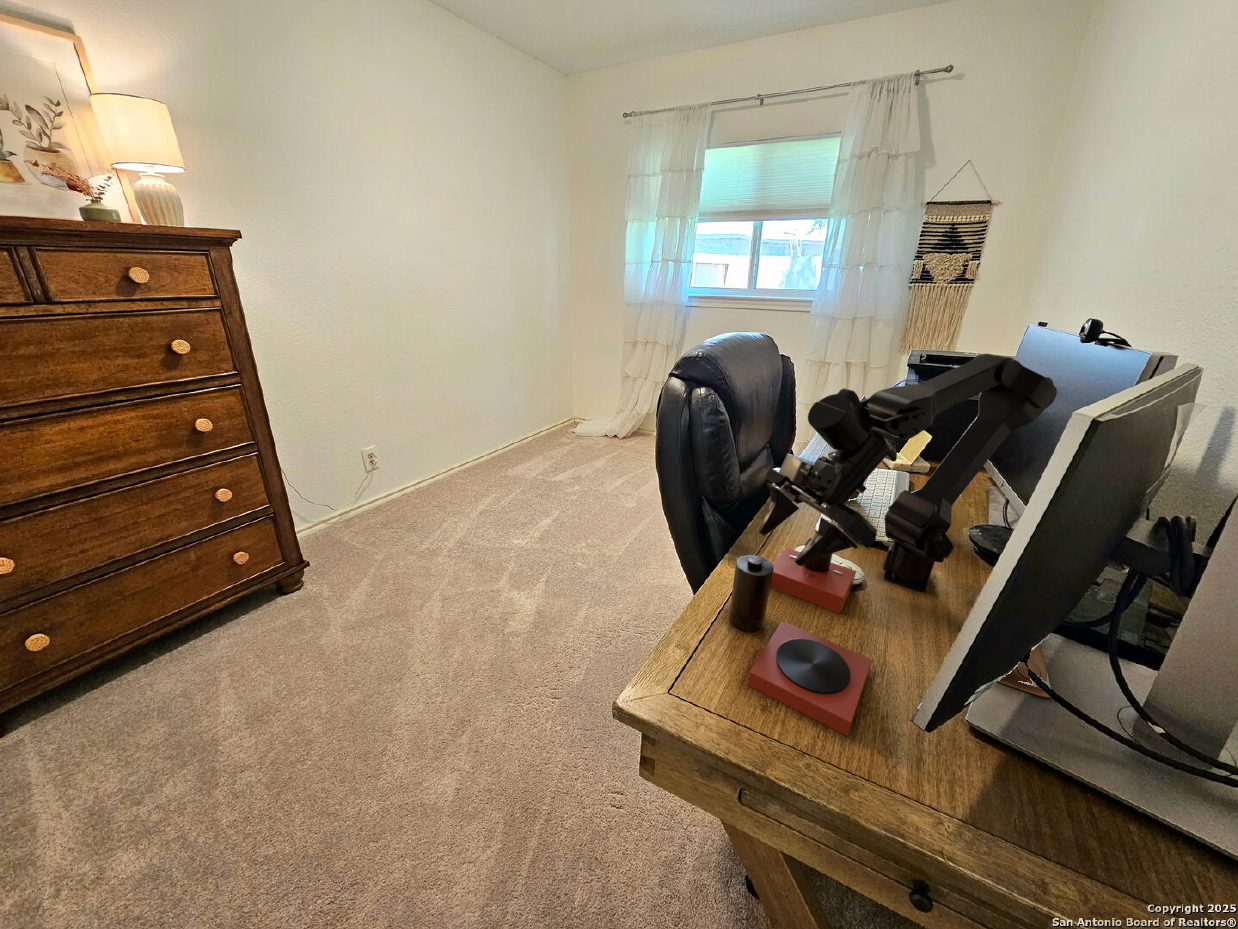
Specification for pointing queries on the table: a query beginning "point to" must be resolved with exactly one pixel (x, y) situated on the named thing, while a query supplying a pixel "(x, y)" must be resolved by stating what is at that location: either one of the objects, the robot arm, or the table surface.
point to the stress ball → (958, 516)
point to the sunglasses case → (1025, 670)
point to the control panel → (812, 581)
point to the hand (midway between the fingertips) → (778, 548)
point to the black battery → (750, 593)
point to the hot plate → (811, 676)
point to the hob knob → (819, 562)
